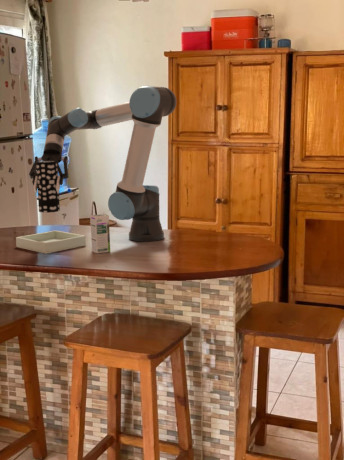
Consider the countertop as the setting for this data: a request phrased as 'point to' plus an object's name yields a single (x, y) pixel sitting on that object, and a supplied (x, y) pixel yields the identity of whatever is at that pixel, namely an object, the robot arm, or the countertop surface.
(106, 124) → the robot arm
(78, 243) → the tray
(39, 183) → the spotted tube
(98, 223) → the syrup box
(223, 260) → the countertop surface
